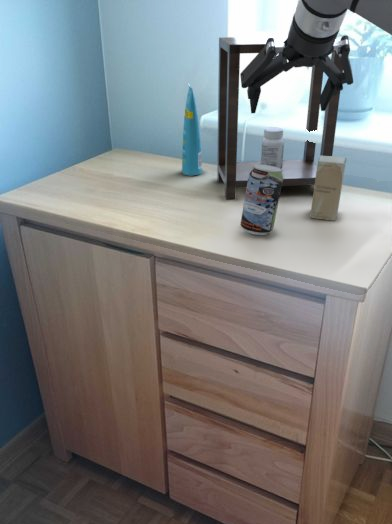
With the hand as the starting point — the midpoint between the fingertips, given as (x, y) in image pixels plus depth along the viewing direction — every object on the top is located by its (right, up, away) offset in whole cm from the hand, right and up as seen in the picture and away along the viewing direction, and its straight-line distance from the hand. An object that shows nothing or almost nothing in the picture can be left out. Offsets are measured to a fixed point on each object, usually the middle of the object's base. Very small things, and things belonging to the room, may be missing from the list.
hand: (287, 105), depth 107 cm
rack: (-1, -11, +18) cm, 21 cm away
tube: (-19, -4, +27) cm, 33 cm away
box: (+8, -21, +3) cm, 22 cm away
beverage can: (-6, -25, -4) cm, 26 cm away
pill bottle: (-1, -7, +15) cm, 17 cm away
